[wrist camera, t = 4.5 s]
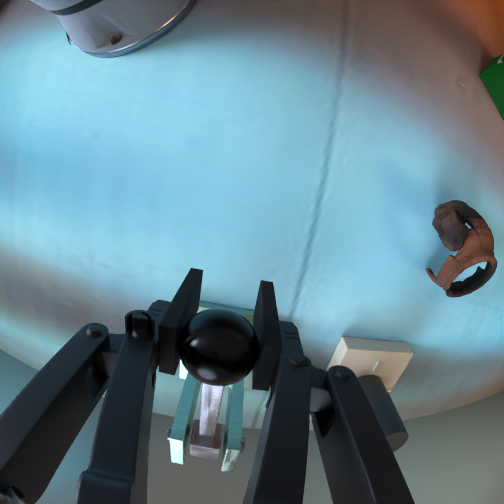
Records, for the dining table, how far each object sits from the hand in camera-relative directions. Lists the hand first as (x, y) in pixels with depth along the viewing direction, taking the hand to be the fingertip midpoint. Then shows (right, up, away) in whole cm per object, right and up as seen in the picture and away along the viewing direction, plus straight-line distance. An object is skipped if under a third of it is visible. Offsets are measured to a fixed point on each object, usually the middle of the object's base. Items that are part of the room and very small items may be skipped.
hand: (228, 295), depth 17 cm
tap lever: (-1, -6, -1) cm, 6 cm away
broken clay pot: (+24, +5, +8) cm, 25 cm away
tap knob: (+15, -15, +12) cm, 24 cm away
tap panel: (+15, -14, +14) cm, 25 cm away
